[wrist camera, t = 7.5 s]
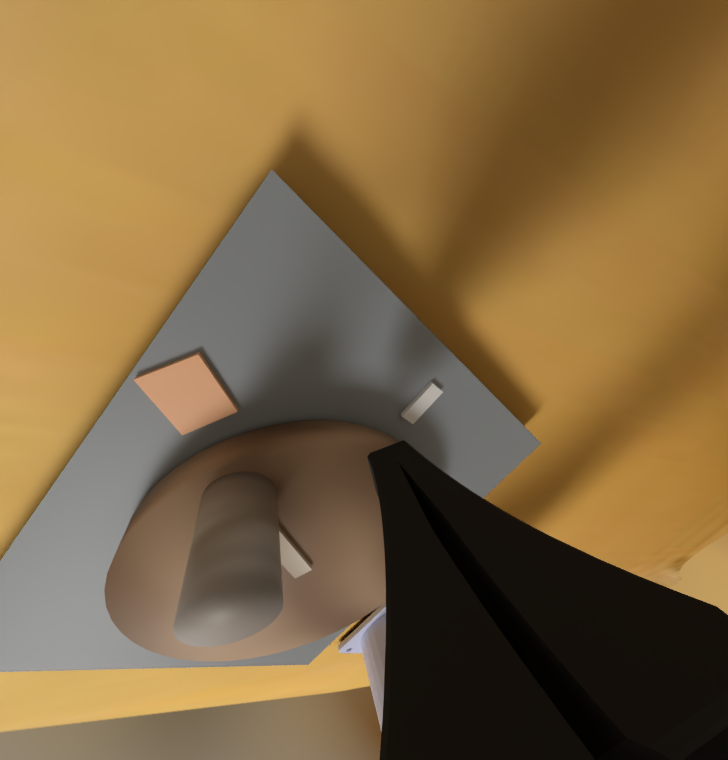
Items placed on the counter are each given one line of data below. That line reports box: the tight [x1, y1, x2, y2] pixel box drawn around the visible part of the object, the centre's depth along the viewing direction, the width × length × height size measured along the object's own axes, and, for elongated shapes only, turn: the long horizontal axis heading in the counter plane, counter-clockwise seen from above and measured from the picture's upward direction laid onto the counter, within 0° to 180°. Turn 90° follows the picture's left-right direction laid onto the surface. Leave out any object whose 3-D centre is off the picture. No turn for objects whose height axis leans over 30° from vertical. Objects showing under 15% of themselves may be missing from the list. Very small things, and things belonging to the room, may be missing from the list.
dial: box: [104, 420, 399, 662], centre depth 12 cm, size 14×14×5 cm
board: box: [0, 170, 541, 672], centre depth 15 cm, size 19×23×2 cm
